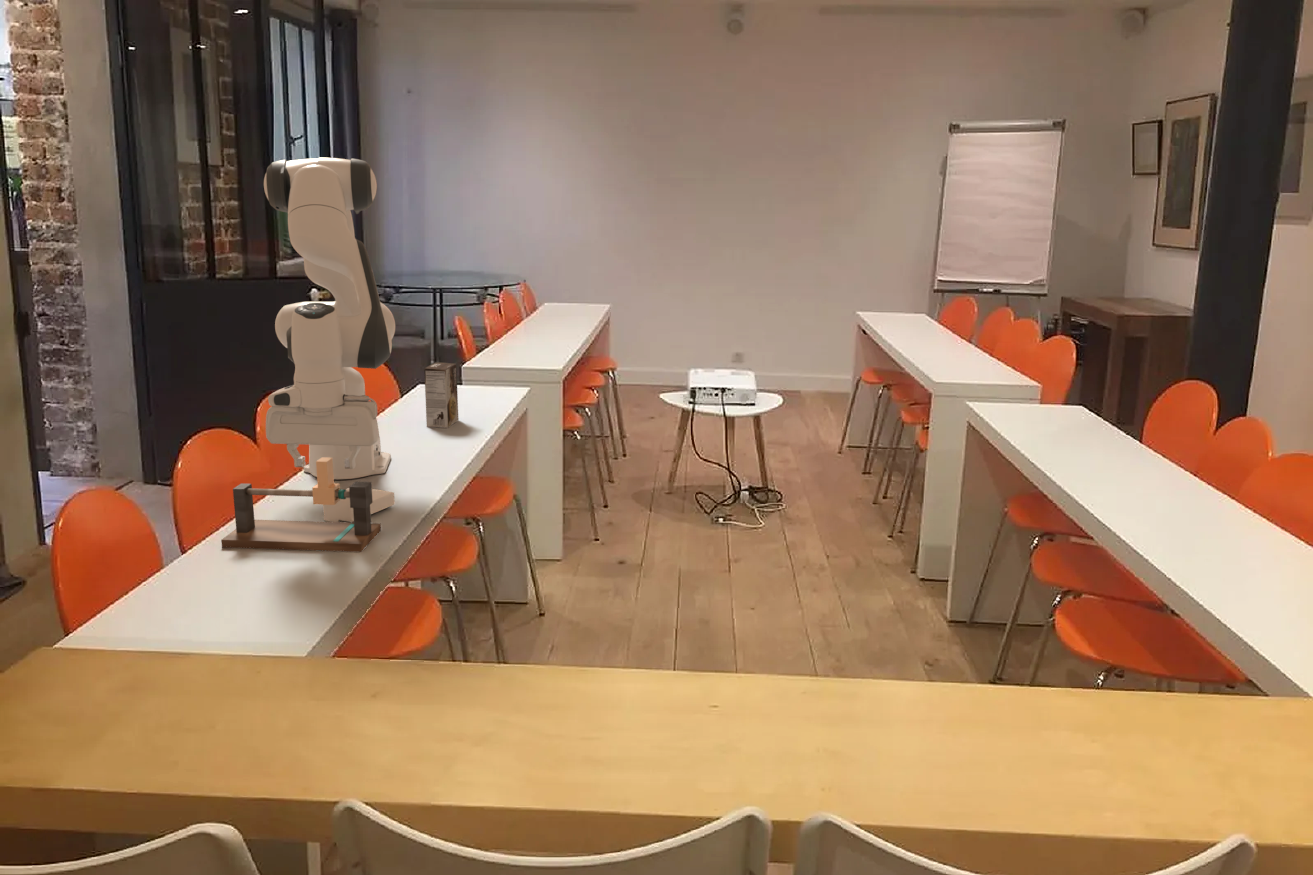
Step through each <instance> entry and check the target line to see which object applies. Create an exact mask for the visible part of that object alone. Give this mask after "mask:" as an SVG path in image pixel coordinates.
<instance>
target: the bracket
mask: <svg viewBox="0 0 1313 875" xmlns="http://www.w3.org/2000/svg"><path fill="white" fill-rule="evenodd" d="M334 483H335V481H334ZM345 490H346V491H349V487H348V488H345ZM394 505H396V504H395V492H393V491H388V490H381V489H377V488H372V503H371V504H370V514H371V515H372V514H375V513H378V512H380V511H383V510H385V509H388V508H389V507H392V506H394ZM322 508H323V510H322V511H323V520H324V521H325V522H351V523H354V514H353V508H350V498H346V499H340V501H339V502H337V503H336V504H335V505H322Z"/></svg>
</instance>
